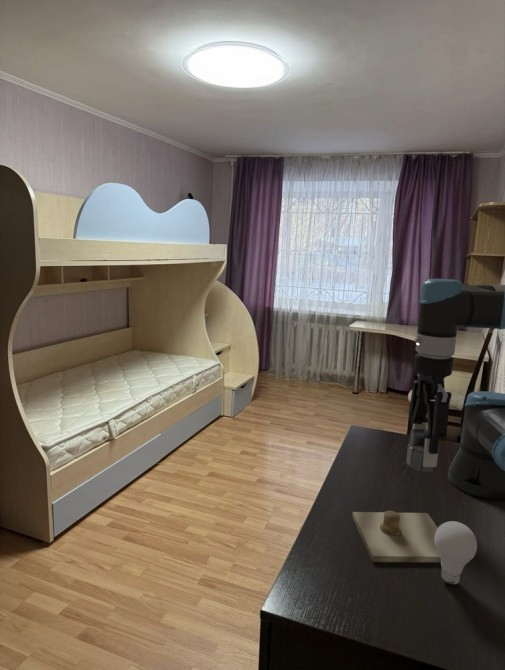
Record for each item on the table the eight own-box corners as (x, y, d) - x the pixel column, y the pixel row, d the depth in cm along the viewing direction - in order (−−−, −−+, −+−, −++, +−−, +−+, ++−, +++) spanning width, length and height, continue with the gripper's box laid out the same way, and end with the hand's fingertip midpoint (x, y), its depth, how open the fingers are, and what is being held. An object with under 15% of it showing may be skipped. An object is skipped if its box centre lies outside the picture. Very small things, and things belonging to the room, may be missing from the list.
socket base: (426, 518, 100) (429, 499, 99) (458, 562, 86) (461, 541, 85) (352, 517, 99) (354, 498, 98) (372, 561, 85) (374, 540, 84)
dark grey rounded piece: (429, 458, 104) (433, 425, 103) (441, 471, 99) (445, 437, 97) (403, 458, 104) (406, 425, 103) (413, 471, 98) (417, 436, 97)
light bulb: (474, 599, 77) (484, 539, 75) (432, 592, 78) (440, 533, 76) (465, 572, 83) (474, 516, 81) (426, 565, 85) (433, 510, 82)
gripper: (399, 344, 106) (390, 440, 110) (436, 366, 87) (423, 480, 92) (432, 344, 106) (422, 440, 111) (475, 367, 87) (461, 481, 92)
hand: (422, 458), depth 101 cm, fingers closed on dark grey rounded piece, 6 cm apart
